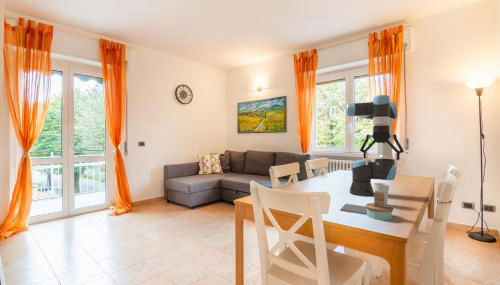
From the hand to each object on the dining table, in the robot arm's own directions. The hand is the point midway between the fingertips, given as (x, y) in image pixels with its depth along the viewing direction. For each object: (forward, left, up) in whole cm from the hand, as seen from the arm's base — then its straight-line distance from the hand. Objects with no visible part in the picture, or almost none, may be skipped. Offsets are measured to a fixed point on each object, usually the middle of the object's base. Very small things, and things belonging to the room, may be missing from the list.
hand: (380, 165), depth 128 cm
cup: (-13, -1, -24) cm, 28 cm away
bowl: (+9, 0, -24) cm, 26 cm away
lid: (+9, 0, -20) cm, 22 cm away
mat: (+3, -12, -24) cm, 27 cm away
